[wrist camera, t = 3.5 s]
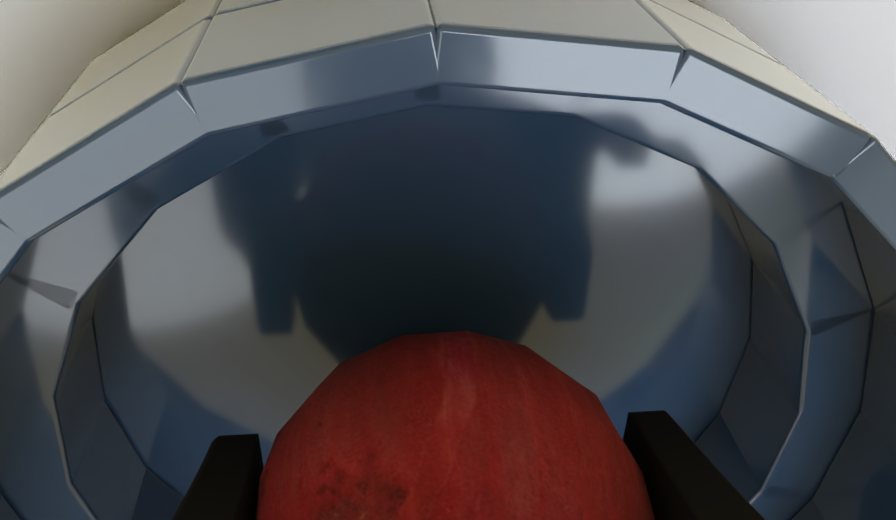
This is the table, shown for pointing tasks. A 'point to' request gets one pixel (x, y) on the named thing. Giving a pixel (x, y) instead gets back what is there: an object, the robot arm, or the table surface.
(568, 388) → the onion
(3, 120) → the table surface
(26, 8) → the table surface
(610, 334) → the bowl
